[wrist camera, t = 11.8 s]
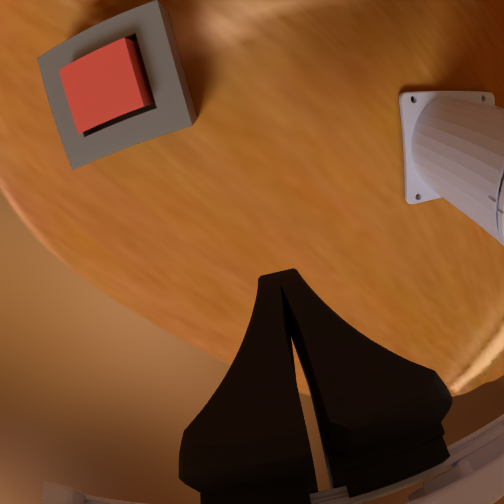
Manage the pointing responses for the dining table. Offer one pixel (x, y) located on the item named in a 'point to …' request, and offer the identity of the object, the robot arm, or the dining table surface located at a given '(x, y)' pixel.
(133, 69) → the button
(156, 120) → the button housing
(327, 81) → the dining table surface
